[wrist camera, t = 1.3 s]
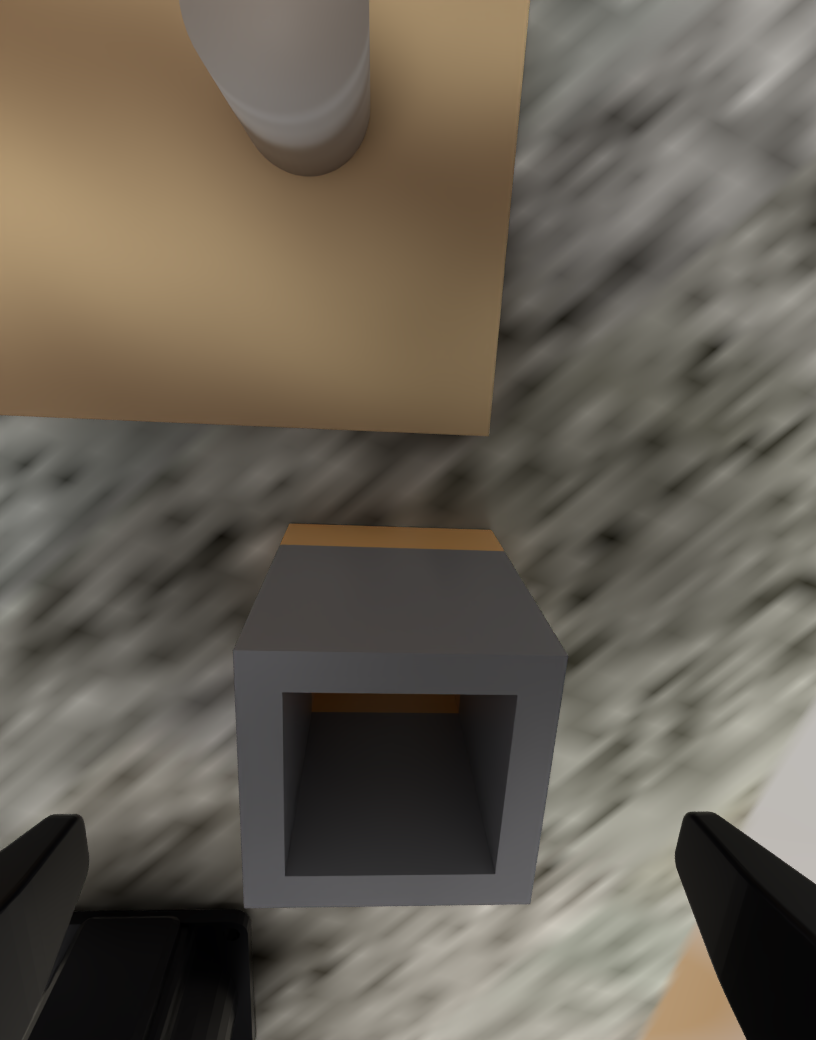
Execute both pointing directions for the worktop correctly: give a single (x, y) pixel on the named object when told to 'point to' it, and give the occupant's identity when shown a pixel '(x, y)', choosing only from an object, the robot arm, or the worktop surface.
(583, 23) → the worktop surface
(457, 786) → the sleeve
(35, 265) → the pin board
